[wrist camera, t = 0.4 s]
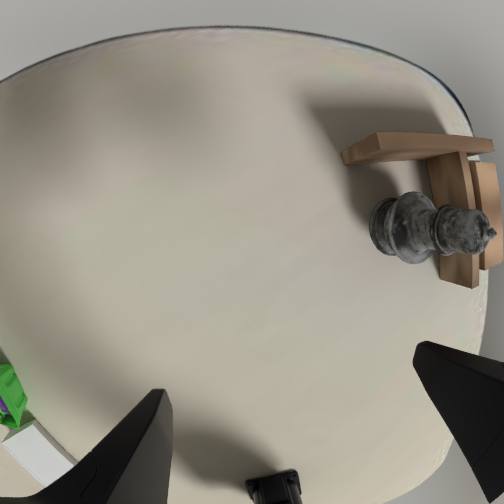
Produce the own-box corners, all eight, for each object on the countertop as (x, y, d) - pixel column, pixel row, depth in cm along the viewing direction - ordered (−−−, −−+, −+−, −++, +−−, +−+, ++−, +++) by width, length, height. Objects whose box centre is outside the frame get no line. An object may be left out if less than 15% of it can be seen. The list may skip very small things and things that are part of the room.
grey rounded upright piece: (424, 223, 23) (522, 229, 11) (394, 271, 23) (492, 302, 11) (388, 181, 22) (490, 161, 10) (354, 230, 22) (457, 239, 10)
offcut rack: (469, 267, 24) (506, 275, 18) (364, 305, 23) (401, 327, 17) (454, 148, 23) (491, 139, 17) (341, 151, 21) (376, 132, 16)
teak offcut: (490, 259, 21) (503, 261, 19) (470, 267, 20) (484, 270, 18) (481, 165, 20) (494, 162, 18) (461, 164, 19) (475, 162, 17)
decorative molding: (43, 408, 24) (11, 428, 21) (32, 424, 20) (1, 443, 17) (192, 525, 29) (155, 538, 26) (198, 542, 24) (157, 555, 21)
